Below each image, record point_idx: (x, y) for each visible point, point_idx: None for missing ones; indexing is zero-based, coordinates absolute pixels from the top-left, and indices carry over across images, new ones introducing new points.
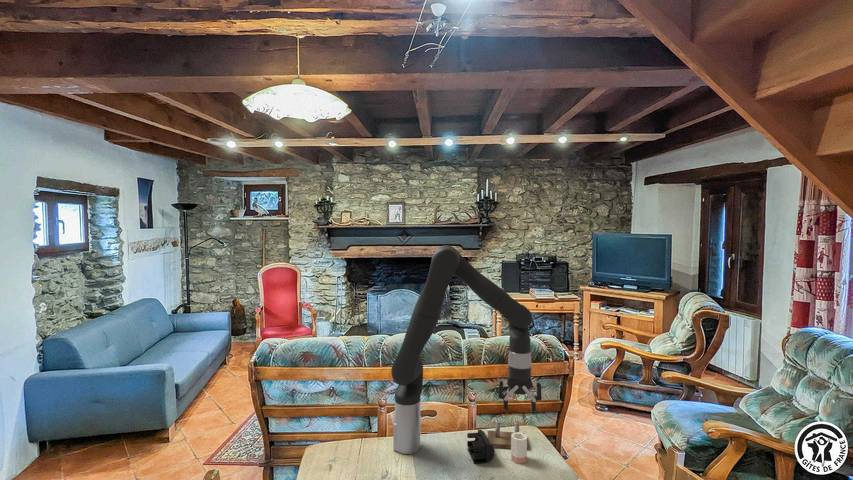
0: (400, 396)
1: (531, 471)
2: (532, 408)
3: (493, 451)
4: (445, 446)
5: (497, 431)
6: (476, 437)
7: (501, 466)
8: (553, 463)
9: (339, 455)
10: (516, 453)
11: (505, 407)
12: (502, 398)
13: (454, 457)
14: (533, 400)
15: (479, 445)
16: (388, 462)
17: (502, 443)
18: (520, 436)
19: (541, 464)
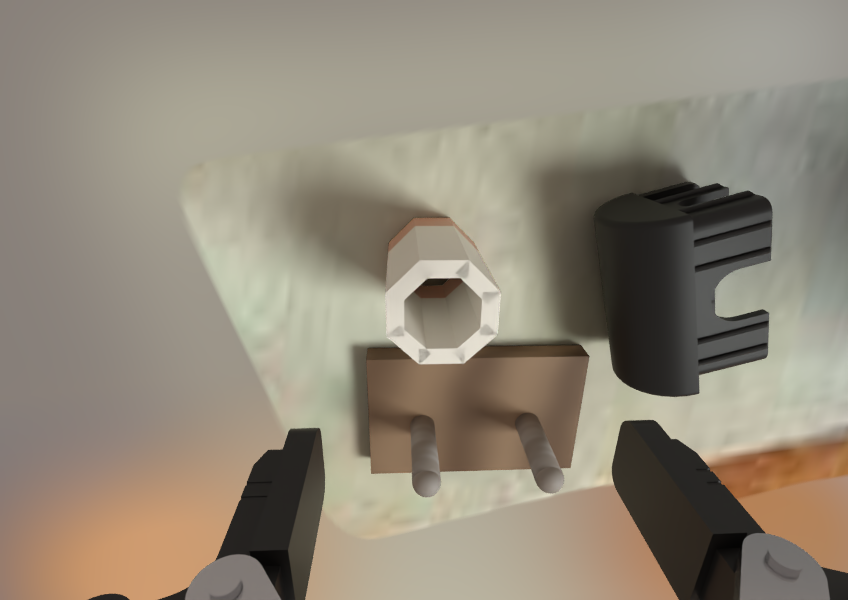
0: None
1: (372, 148)
2: (296, 466)
3: (612, 217)
4: (810, 324)
5: (539, 436)
6: (720, 317)
7: (541, 177)
8: (236, 244)
9: None
10: (457, 233)
11: (676, 458)
12: (827, 575)
13: (789, 230)
14: (242, 586)
15: (730, 218)
16: None
17: (510, 365)
18: (425, 339)
19: (306, 226)
